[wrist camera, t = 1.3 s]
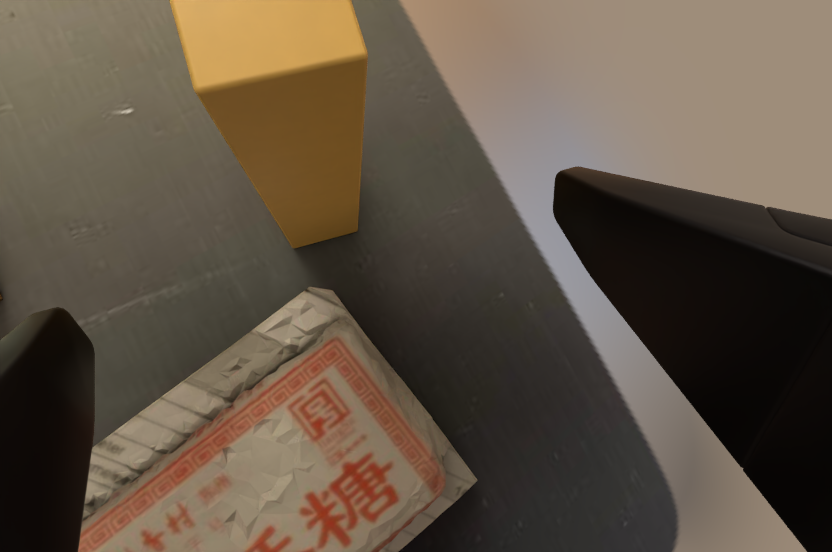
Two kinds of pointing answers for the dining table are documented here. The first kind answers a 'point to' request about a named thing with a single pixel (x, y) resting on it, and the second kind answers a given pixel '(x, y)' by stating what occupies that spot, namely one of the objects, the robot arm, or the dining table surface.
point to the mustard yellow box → (285, 102)
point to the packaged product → (277, 450)
